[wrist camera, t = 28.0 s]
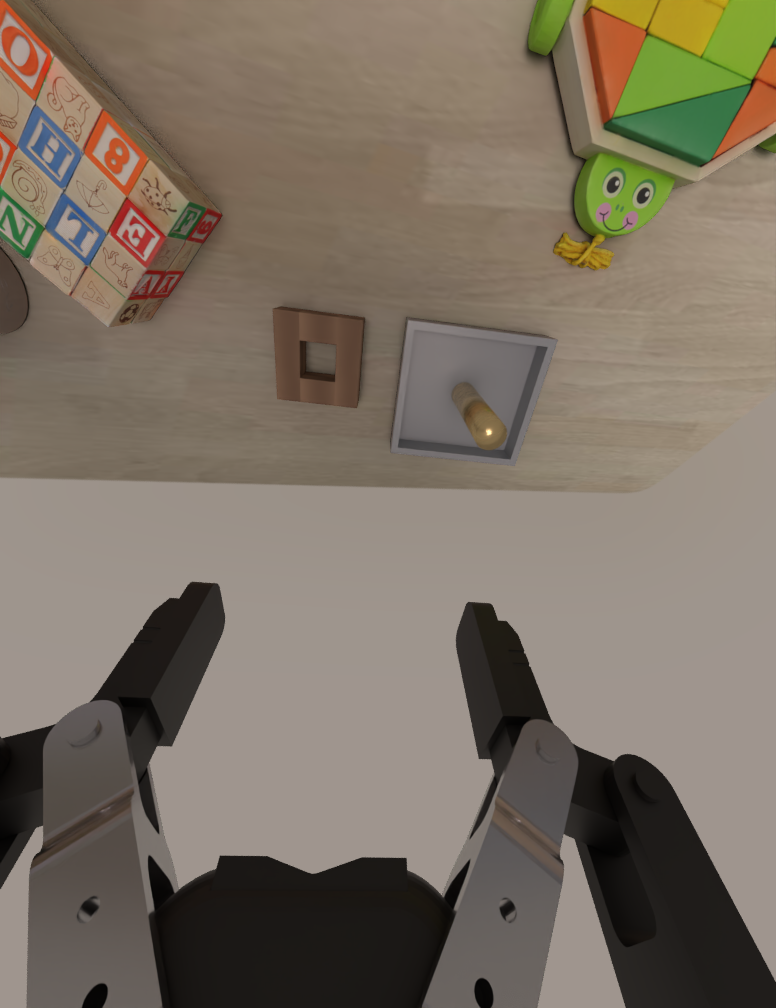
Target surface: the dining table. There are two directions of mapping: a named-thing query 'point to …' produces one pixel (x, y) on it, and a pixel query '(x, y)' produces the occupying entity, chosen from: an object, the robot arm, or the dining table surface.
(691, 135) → the wooden turtle toy
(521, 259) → the dining table surface
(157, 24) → the dining table surface
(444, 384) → the pin tray
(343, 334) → the pin base
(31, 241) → the stack of blocks
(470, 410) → the pin
